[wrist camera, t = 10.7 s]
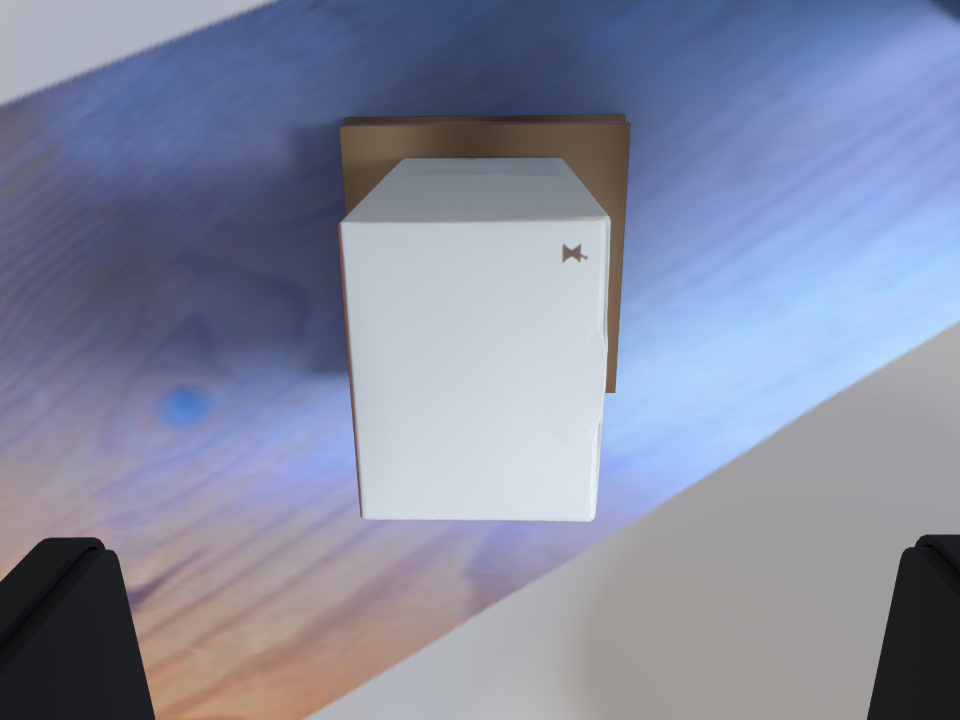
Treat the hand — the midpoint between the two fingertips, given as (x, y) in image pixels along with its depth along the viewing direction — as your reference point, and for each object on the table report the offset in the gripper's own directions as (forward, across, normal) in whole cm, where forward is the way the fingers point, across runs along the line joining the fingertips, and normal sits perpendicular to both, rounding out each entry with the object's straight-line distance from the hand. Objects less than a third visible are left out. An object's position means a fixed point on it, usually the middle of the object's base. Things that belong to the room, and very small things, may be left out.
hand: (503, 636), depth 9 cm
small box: (+23, +1, +1) cm, 23 cm away
